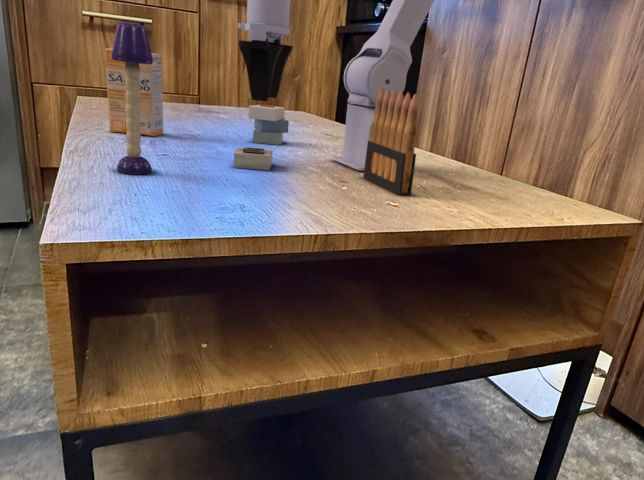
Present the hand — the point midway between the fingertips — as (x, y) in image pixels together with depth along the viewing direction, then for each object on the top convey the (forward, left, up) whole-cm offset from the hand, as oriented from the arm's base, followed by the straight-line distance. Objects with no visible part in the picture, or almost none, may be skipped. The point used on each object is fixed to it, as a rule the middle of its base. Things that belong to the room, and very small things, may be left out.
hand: (264, 98), depth 85 cm
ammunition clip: (-17, -12, -9) cm, 22 cm away
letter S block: (-3, +2, -9) cm, 10 cm away
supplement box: (+27, +13, -9) cm, 32 cm away
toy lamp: (-7, +19, -9) cm, 22 cm away
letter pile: (+20, -9, -9) cm, 24 cm away
